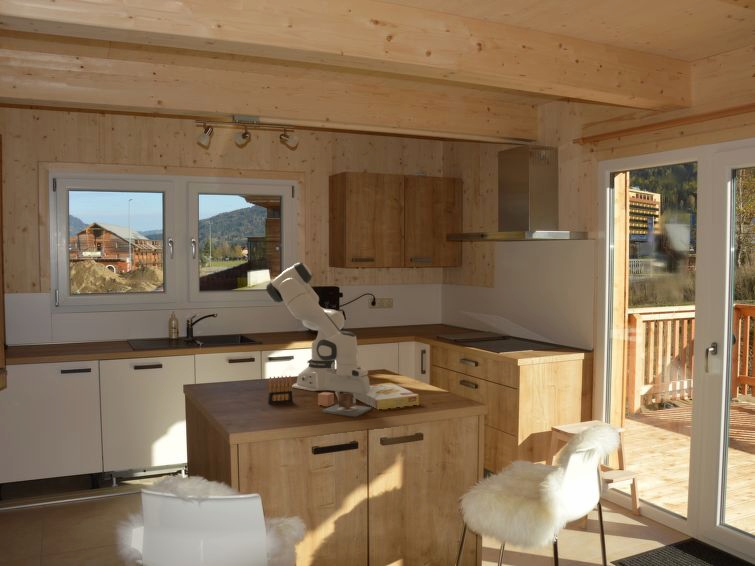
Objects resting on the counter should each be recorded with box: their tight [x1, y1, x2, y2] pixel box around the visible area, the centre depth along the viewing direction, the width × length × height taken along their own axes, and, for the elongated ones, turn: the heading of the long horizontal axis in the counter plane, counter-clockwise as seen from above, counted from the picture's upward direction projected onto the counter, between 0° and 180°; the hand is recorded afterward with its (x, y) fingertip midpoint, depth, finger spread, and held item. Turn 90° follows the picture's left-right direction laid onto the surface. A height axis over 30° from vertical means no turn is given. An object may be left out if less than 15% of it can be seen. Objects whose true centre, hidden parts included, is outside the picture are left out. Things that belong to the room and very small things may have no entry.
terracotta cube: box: [317, 391, 335, 407], centre depth 298 cm, size 5×5×5 cm
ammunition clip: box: [267, 375, 293, 405], centre depth 302 cm, size 11×2×12 cm, turn 111°
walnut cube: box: [338, 392, 356, 408], centre depth 286 cm, size 5×5×5 cm
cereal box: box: [356, 382, 420, 411], centre depth 305 cm, size 20×6×28 cm
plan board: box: [321, 402, 372, 418], centre depth 287 cm, size 16×14×1 cm
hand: (346, 402), depth 287 cm, fingers closed on walnut cube, 5 cm apart
